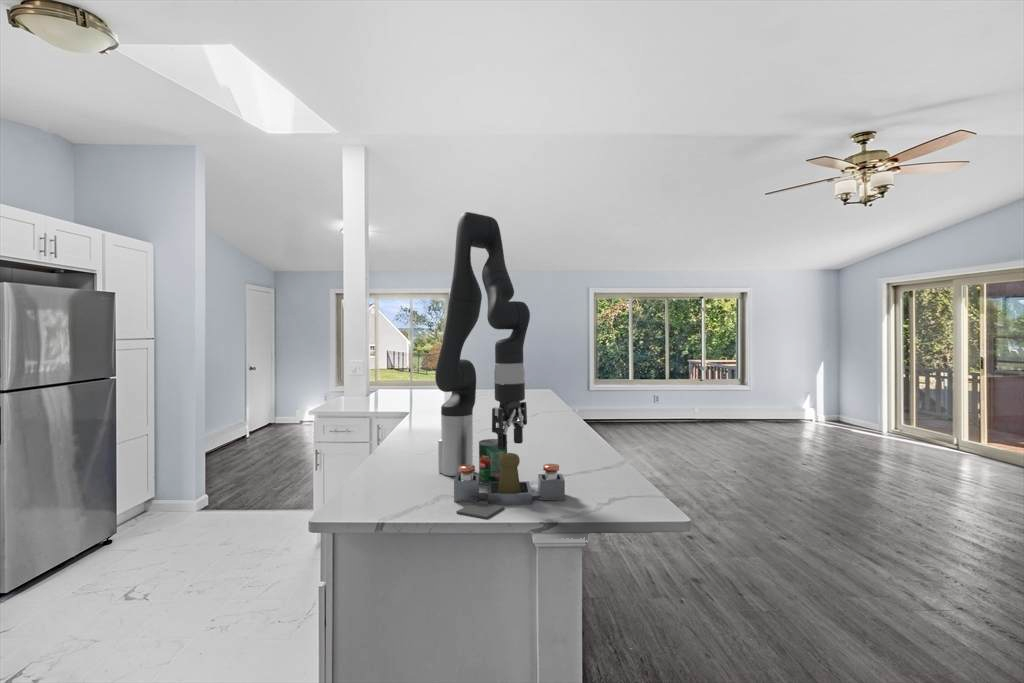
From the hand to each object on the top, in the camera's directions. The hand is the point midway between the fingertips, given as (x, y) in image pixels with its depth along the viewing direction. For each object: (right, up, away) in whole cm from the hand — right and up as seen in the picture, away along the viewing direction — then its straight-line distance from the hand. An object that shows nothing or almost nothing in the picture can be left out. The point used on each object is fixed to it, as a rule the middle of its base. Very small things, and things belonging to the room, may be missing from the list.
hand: (510, 446), depth 134 cm
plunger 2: (+10, -12, +1) cm, 16 cm away
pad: (-7, -13, -10) cm, 18 cm away
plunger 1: (-11, -12, 0) cm, 16 cm away
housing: (0, -13, 0) cm, 13 cm away
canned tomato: (-5, -13, +15) cm, 20 cm away
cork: (0, -13, 0) cm, 13 cm away
